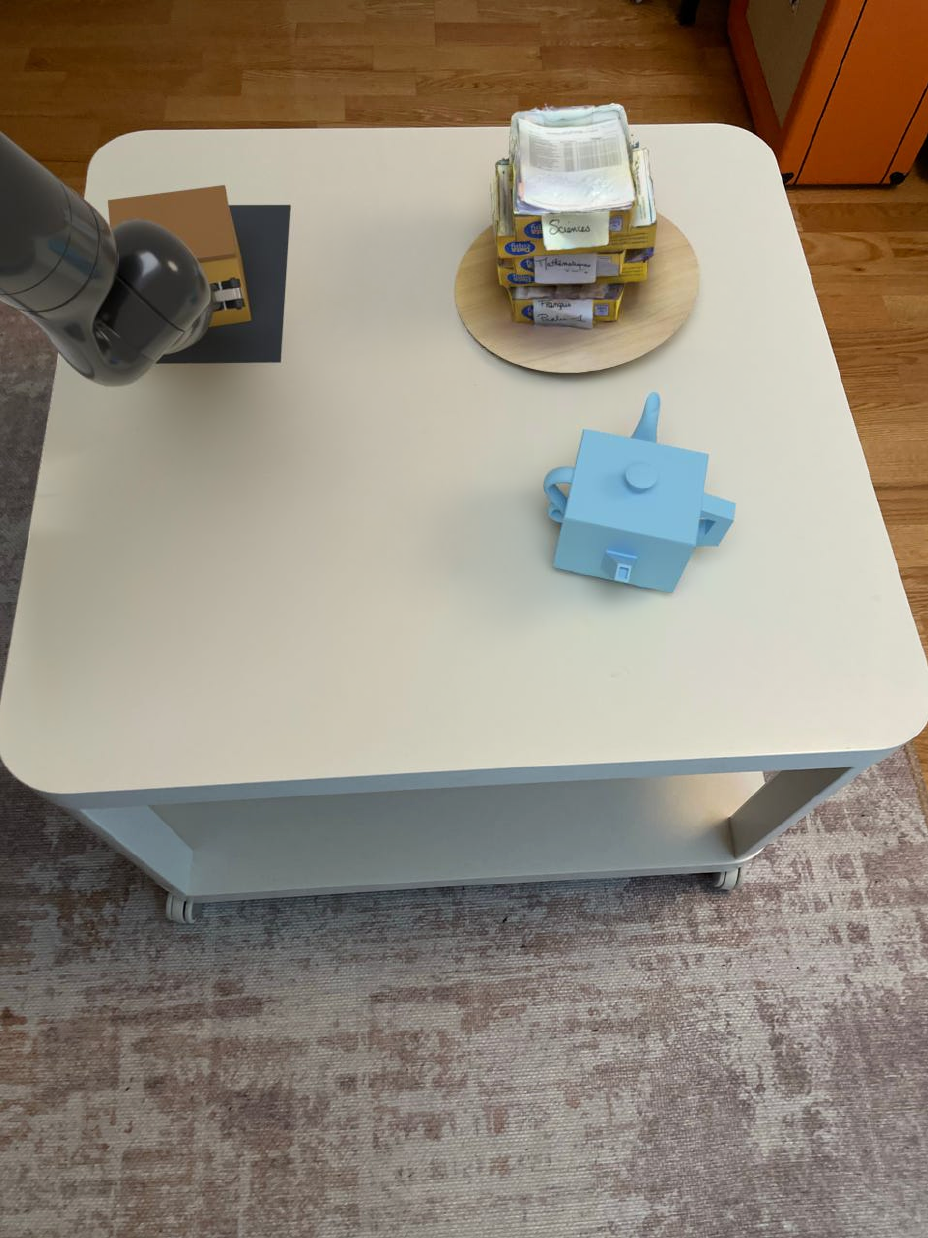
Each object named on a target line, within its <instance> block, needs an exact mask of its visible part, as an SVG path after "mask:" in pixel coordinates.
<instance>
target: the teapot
mask: <svg viewBox="0 0 928 1238" xmlns="http://www.w3.org/2000/svg"><path fill="white" fill-rule="evenodd" d="M661 404H662V402H661V396H660V394H659V393H658V392H656V391H652V392H650V394H648V396H647V398H646V400H645V403H644V406H643V410H642V414H641V417H640V419H639V421H638V423H637V426H636V427H635V430H634V431H633V433H632V434H631V436H630V437H628V436H623V435H619V434H614V433H609V432H604V431H598V430H593V429H587V428H582V432H581V437H580V441H579V446H578V450H577V454H576V458H575V459H576V460H575V463H574V466H558V467H555V468H553V469H551V470H550V471H548V472H547V473H546V475H545V478H544V480H543V490H544V493H545V495H546V497H547V498H548V499H549V501H550V503H549V504H548V507H547V515H548V517H549V518H550V519H551V520H553V521H554V522H556V523H560V524H561V526H560V531H559V536H558V540H557V544H556V549H555V554H554V558H553V563H552V568H556V569H559V570H563V571H569V572H573V573H575V574H578V575H582V576H585V575H587V576H591V577H595V578H601V579H605V580H610V581H615V582H619V583H623V584H624V583H625V584H628V585H633V586H636V587H638V588H641V589H646V588H648V589H652V590H657V591H662V592H667V593H671V594H673V593H674V591H675V589H676V587H677V585H678V583H679V581H680V579H681V577H682V575H683V573H684V571H685V569H686V567H687V565H688V563H689V561H690V559H691V557H692V555H693V553H694V551H695V549H696V547H719V546H720V544H721V542H722V541H723V539H724V537H726V534H727V532H728V531H729V529H730V528H731V527H732V524H733V523H734V521H735V514H736V506H737V503H736V502H734V501H731V500H728V499H725V498H721V497H718V496H715V495H712V494H709V493H706V492H704V491H705V486H706V478H707V472H708V466H709V465H708V464H709V457H710V454H708V453H705V452H701V451H700V452H699V451H696V450H691V449H687V448H682V447H677V446H672V445H669V444H668V445H667V444H663V443H658V442H657V441H658V440H657V438H658V436H657V435H658V423H659V416H660V410H661ZM557 484H569V490H568V495H567V496H566V495H565V493H563V491H562V490H561V489H560V488H559V487H558V485H557Z"/></svg>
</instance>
